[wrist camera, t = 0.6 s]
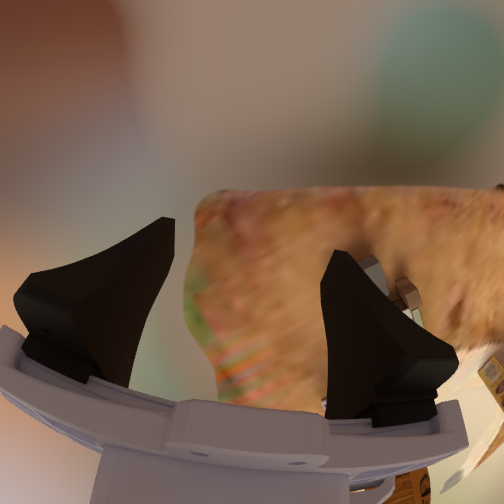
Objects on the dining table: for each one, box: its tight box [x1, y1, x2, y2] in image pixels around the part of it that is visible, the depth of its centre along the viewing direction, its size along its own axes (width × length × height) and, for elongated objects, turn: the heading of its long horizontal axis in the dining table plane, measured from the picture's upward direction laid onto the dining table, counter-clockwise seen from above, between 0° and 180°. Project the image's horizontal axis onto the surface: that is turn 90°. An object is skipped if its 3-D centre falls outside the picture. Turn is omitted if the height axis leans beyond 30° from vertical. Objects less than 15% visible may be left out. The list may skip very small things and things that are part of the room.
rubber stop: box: [357, 254, 390, 296], centre depth 30 cm, size 5×6×4 cm
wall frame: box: [395, 276, 422, 310], centre depth 28 cm, size 15×2×5 cm, turn 21°
